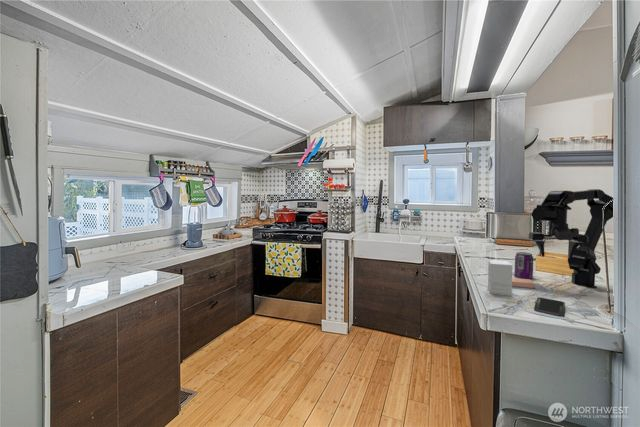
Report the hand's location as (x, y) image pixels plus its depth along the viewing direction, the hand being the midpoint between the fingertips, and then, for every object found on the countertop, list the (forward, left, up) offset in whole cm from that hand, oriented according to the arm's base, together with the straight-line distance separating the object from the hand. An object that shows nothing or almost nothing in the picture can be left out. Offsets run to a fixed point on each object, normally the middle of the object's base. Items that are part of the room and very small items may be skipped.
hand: (556, 257), depth 119 cm
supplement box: (+24, +16, -13) cm, 32 cm away
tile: (+9, +4, -11) cm, 15 cm away
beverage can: (+8, -12, -13) cm, 20 cm away
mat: (+12, +4, -13) cm, 18 cm away
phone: (+11, +27, -14) cm, 32 cm away
